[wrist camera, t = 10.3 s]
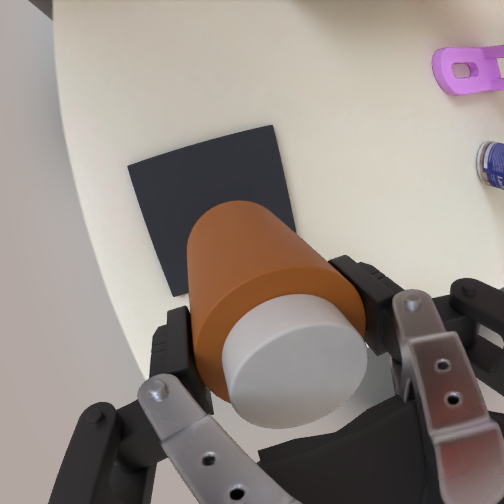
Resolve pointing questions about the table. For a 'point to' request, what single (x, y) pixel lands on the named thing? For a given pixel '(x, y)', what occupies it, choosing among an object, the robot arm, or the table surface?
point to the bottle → (271, 319)
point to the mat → (206, 190)
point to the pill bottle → (491, 164)
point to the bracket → (480, 65)
